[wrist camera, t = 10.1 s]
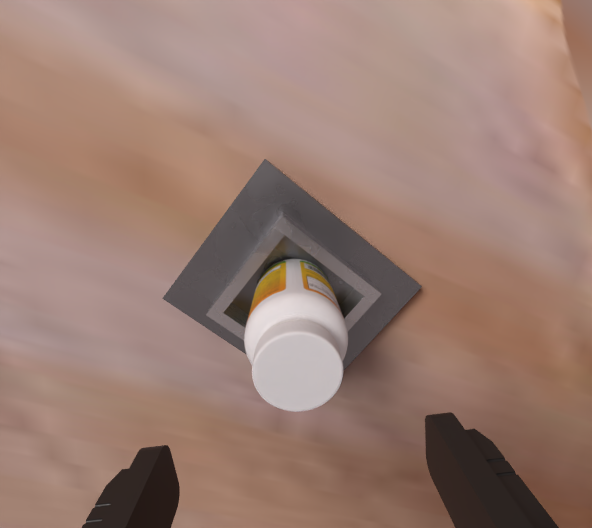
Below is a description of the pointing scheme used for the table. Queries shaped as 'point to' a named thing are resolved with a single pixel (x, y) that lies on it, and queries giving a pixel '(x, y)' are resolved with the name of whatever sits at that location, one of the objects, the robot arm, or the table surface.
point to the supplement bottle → (295, 336)
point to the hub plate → (281, 246)
